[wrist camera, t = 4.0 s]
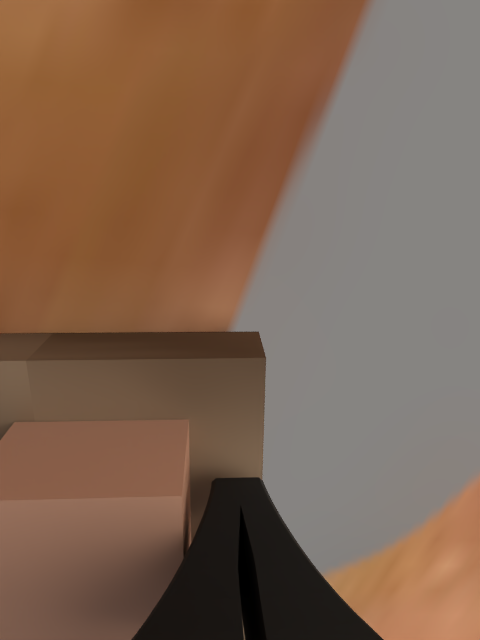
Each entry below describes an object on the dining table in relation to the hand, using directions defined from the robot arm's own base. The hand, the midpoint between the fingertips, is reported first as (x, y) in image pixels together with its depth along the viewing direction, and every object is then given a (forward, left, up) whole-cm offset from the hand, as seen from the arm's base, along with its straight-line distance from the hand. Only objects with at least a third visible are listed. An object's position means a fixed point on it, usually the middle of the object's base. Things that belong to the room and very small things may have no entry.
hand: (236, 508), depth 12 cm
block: (0, +4, -1) cm, 4 cm away
